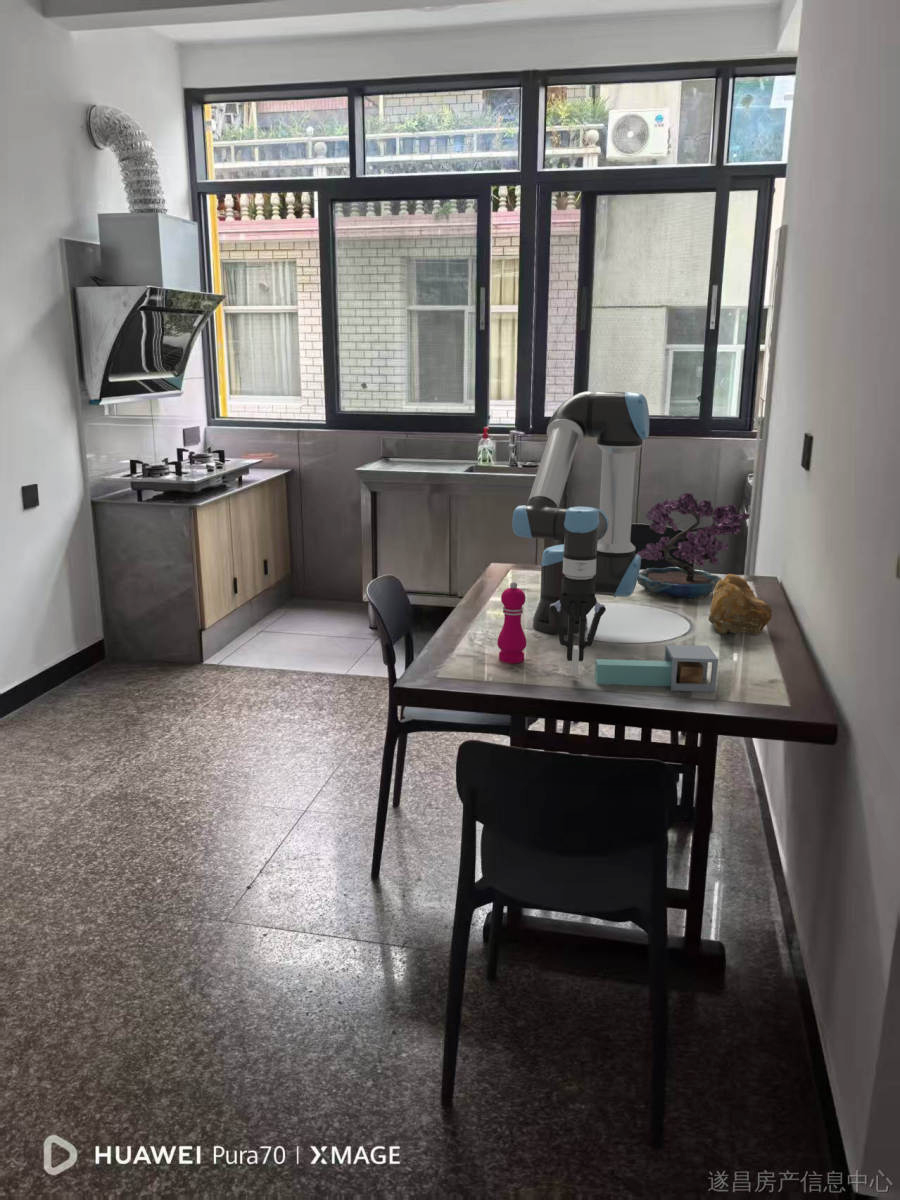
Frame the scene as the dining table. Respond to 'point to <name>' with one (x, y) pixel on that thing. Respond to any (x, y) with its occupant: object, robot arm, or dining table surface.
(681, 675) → the walnut block
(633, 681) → the teal rod
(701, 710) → the dining table surface
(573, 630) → the robot arm
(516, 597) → the pepper mill
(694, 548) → the bonsai tree
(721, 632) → the rough brown rock
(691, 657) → the tunnel
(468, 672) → the dining table surface
